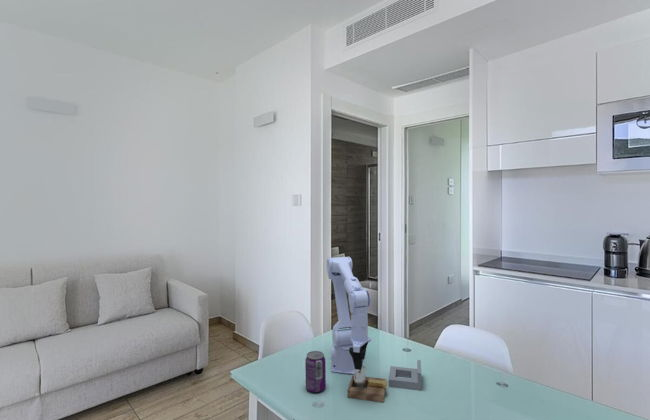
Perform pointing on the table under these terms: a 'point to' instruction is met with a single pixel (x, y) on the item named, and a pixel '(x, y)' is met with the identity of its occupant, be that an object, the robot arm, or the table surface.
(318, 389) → the beverage can
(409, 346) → the table surface
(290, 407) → the table surface
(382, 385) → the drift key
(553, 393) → the table surface
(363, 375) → the steel peg
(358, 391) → the socket block
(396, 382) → the grey square frame
